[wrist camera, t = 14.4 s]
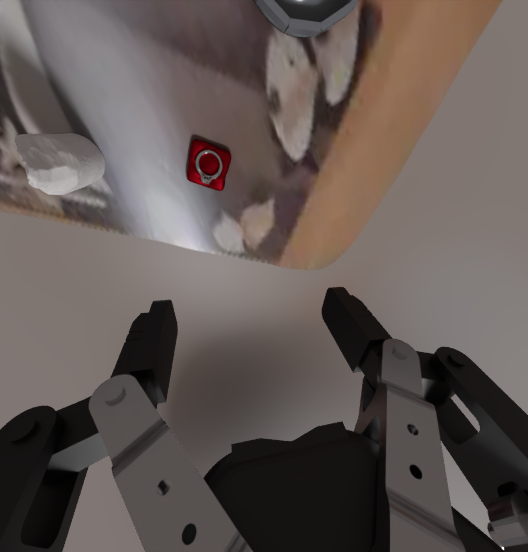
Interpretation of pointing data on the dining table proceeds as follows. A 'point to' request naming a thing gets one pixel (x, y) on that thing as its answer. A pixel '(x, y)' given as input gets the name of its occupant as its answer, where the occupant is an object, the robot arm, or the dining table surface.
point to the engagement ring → (208, 165)
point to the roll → (60, 161)
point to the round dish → (305, 15)
